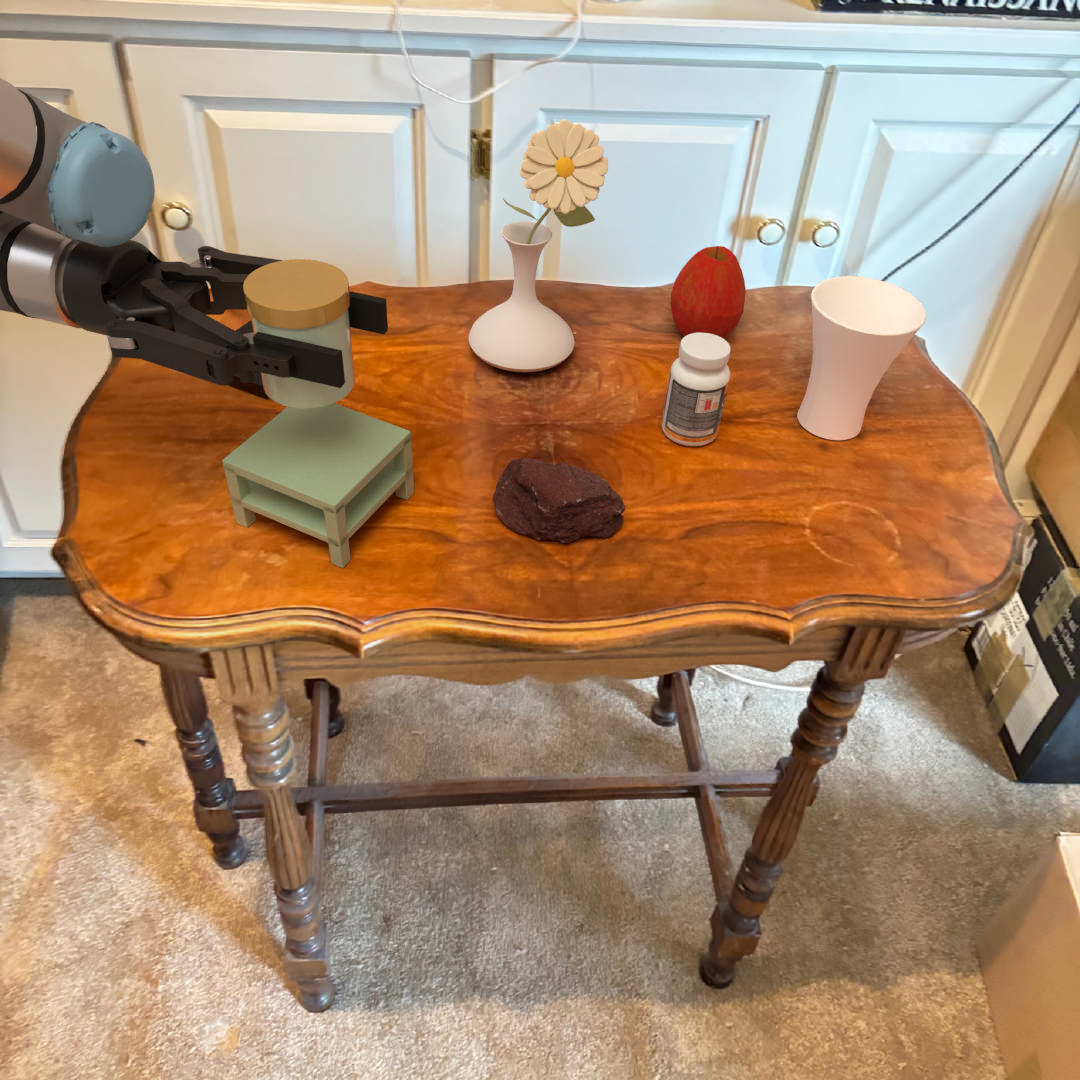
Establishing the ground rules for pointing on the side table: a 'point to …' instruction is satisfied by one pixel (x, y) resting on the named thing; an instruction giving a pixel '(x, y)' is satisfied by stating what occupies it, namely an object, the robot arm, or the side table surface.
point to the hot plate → (257, 384)
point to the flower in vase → (562, 185)
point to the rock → (556, 501)
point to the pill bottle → (697, 390)
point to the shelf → (320, 472)
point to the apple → (709, 293)
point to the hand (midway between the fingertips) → (363, 342)
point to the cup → (853, 349)
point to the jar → (302, 322)
